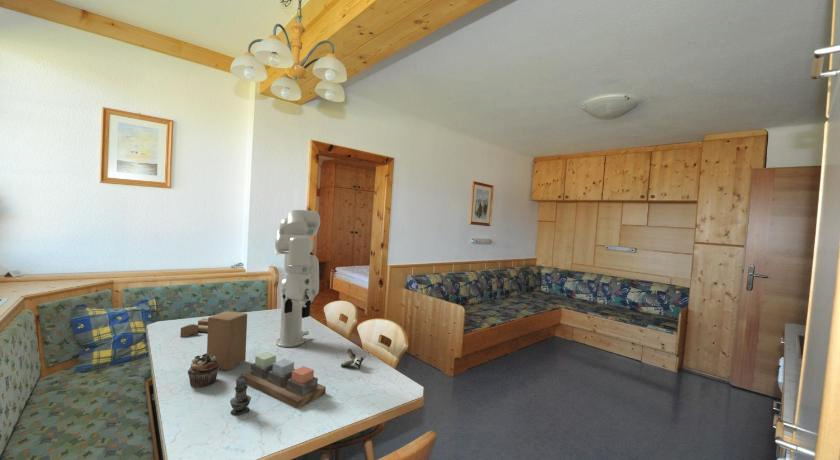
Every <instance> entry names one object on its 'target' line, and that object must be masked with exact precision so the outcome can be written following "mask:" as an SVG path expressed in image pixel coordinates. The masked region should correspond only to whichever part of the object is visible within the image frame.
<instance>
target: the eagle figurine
mask: <svg viewBox="0 0 840 460" xmlns="http://www.w3.org/2000/svg"><path fill="white" fill-rule="evenodd" d="M346 353H347V354H348V357H349V358H350V359H351V360H346V361H344V362H343V363H341V364H340V367H346V366H347V367H349V366H351V365H355V364H356V366H357V367H358V369H359V370H360V369H361V366H362V363H363V361H364V360H365V358H366V354H365V355H364V356H360V359H358V357H357V356H356V354H355V352H353V351H352V349H351V348H348V349H347V351H346Z"/></svg>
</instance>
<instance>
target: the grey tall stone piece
mask: <svg viewBox="0 0 840 460" xmlns="http://www.w3.org/2000/svg"><path fill="white" fill-rule="evenodd" d="M235 383H236V384H235V387H234V391H235V394H234V395H235V396H233V397H232V398H231V399H230V400H229V404H230V406H231V408H232V410H231V411H230V415H231V416H234V417H240V416H244V415H246V414H248V413H249V412H250V409H251V408H250V407H249V405H250V402H251V400H252V397H251V395H247V389H248V388H249V387H248V386H249V385H247V384H246V383H247V377H246V376H244V375H243V373H242V372H241V373H240V375H239V376H237V377H236V382H235Z"/></svg>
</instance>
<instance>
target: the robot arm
mask: <svg viewBox="0 0 840 460" xmlns="http://www.w3.org/2000/svg"><path fill="white" fill-rule="evenodd" d="M320 225H321V216H320V215H319V213H318V212H317V211H316V210H307V209H293V210H291V211H290V212H288V213H287V215H286V218H282V220H281V221H280V223H279V228H278V229H277V230H276V234H275V239H274V248H275V250H276V253H278V254H280V255H284V259H283V262H284V264H283V265H284V266H283V267H284V272H285V273H286V274H287V275H286V277H284V278H283V279H282V280H281V281H280V285H279V287H280V297H281V299H280V300H281V302H280V303H281V305H280V307H281V309H280V310H281V311H280V328H279V329H280V331H279V332H280V333H279V338H278V339H276V342H275V343H276V345H277V346H278V347H280V348H281V347H282V348H293V347H298V346H301V345H303V344H304V343H305V338H304V337H305V336H308V335H309V334H310V331H309V330H302V328H303V325H302V324H303V319H304V318H308V317H310V314H311V313H310V312H311V311H310V310H311V306H312V304H313V303H314V300H315V297H316V296H317V295H318V294H319V291H320V266H319V265H320V264H319V258H318V257H317V256H316V255H313V254H311V252H312V251H314V246H315V243H314V240H313V238H312V237H315V236H316V235H317V234H318V231H319V229H320Z"/></svg>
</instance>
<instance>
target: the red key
mask: <svg viewBox="0 0 840 460" xmlns="http://www.w3.org/2000/svg"><path fill="white" fill-rule="evenodd" d="M314 375H315V370H314V369H312V368H310V367H308V366H305V365H304V366H303V365H302V366H301V367H298V368H297V369H296V370H293V371H292V381H293V382H296V383H298V384H300V385H303V384H305V383H307V382H309V381H311V380H313V377H315V376H314Z"/></svg>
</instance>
